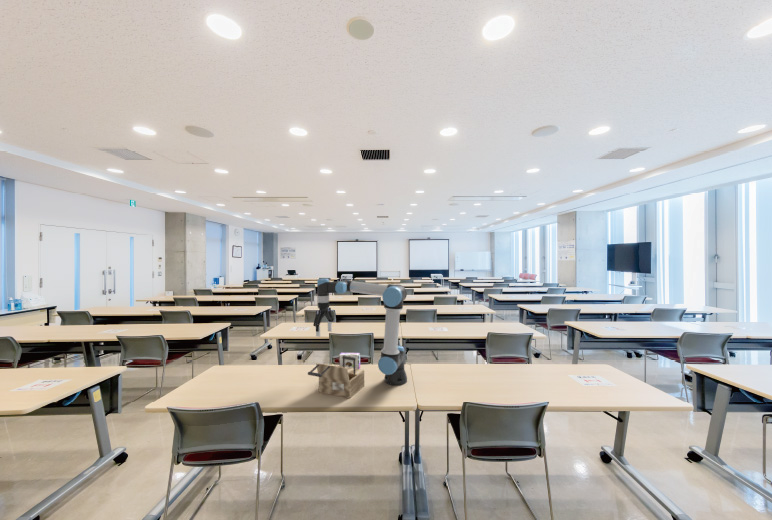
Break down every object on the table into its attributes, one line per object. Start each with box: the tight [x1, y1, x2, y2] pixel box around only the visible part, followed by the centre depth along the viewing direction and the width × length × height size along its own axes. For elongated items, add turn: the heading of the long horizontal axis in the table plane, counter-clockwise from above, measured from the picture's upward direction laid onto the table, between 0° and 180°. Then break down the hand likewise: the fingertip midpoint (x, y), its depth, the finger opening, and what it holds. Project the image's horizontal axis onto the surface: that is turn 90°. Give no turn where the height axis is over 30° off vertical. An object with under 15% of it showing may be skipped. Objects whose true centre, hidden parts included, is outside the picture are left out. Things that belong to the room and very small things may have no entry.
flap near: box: [307, 362, 349, 382], centre depth 184 cm, size 22×9×11 cm
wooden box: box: [318, 370, 365, 399], centre depth 198 cm, size 22×18×10 cm
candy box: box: [338, 352, 361, 369], centre depth 217 cm, size 14×6×16 cm, turn 84°
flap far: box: [334, 356, 365, 376], centre depth 202 cm, size 22×9×11 cm, turn 66°
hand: (324, 333), depth 210 cm, fingers open, 13 cm apart
